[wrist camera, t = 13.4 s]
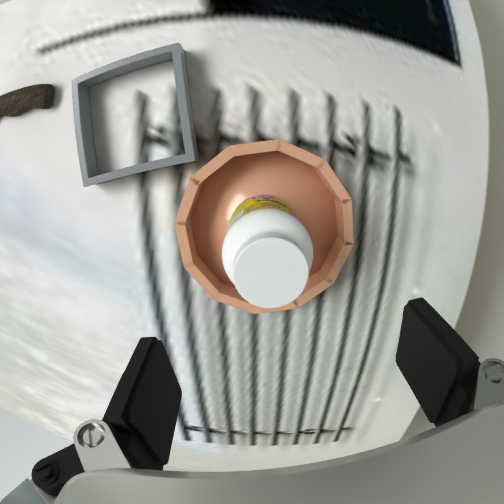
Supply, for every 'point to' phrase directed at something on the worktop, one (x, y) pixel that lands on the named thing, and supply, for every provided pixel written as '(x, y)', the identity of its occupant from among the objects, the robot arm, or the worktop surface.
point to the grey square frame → (115, 69)
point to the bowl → (264, 183)
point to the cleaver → (26, 99)
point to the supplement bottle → (267, 252)
